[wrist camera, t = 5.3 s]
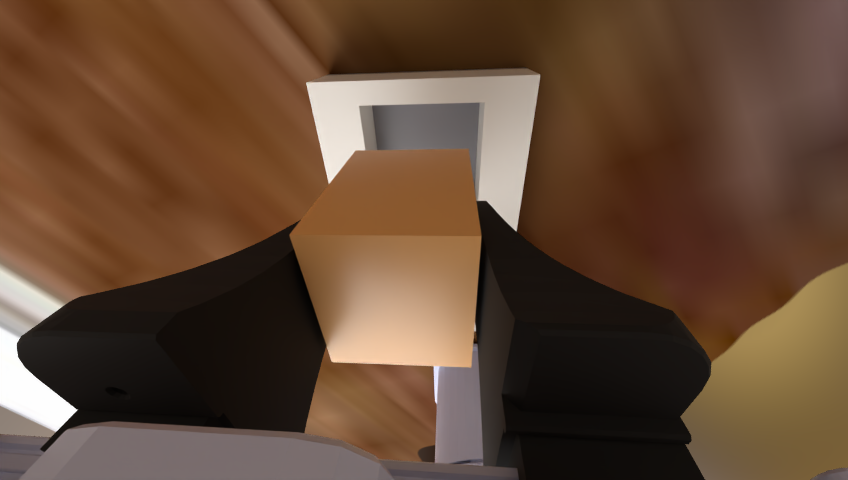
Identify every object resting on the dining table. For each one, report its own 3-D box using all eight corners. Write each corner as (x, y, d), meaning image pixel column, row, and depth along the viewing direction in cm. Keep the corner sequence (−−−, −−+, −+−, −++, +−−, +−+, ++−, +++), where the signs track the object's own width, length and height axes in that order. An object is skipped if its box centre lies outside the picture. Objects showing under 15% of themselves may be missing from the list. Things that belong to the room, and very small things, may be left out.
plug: (464, 251, 13) (471, 367, 9) (371, 250, 14) (332, 362, 9) (468, 148, 11) (481, 235, 6) (355, 150, 11) (289, 235, 7)
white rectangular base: (496, 300, 24) (507, 370, 19) (370, 297, 25) (350, 364, 20) (526, 67, 15) (562, 85, 10) (328, 74, 16) (273, 94, 11)
